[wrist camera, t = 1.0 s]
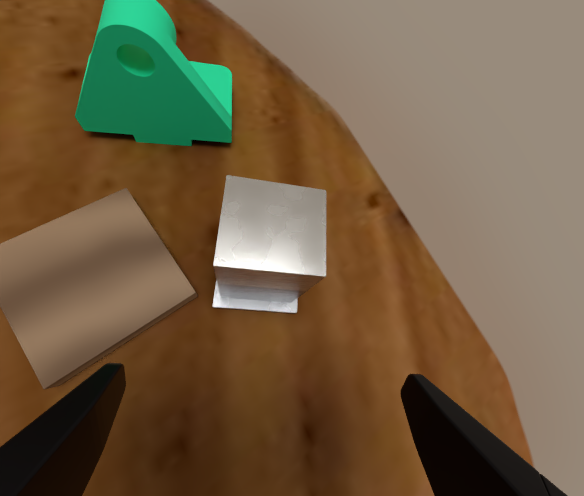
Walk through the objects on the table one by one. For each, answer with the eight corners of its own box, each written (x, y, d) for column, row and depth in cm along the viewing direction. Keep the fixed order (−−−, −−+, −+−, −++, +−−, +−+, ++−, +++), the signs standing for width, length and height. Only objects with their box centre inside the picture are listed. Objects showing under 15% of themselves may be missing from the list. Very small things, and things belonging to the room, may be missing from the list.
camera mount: (232, 90, 29) (231, -34, 20) (231, 150, 27) (231, 41, 17) (104, 74, 27) (32, -77, 17) (90, 139, 24) (-2, 5, 15)
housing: (295, 313, 22) (335, 292, 14) (213, 307, 21) (199, 280, 13) (298, 239, 25) (334, 180, 16) (224, 230, 24) (219, 161, 15)
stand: (198, 296, 21) (195, 292, 20) (58, 385, 18) (43, 389, 16) (132, 197, 23) (126, 187, 22) (-8, 262, 19) (-27, 255, 18)
